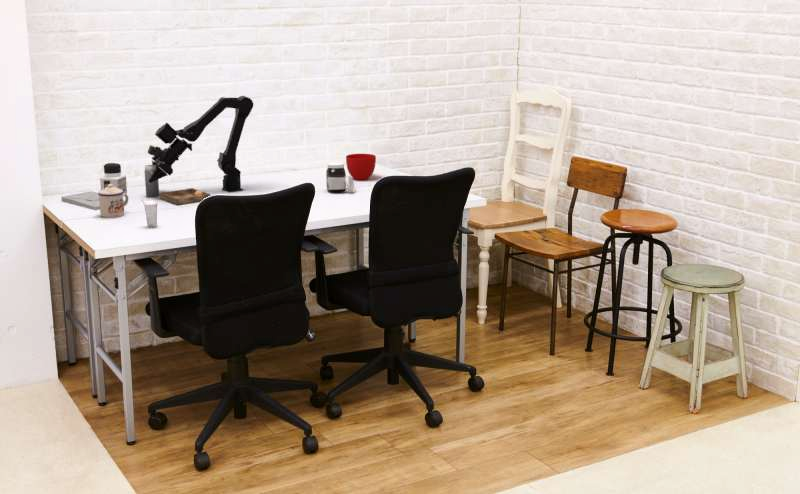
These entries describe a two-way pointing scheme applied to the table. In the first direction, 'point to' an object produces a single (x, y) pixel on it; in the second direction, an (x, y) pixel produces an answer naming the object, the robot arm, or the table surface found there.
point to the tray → (182, 196)
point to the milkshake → (151, 213)
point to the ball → (198, 193)
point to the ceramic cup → (360, 165)
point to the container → (113, 177)
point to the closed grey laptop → (84, 200)
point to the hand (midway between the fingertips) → (148, 180)
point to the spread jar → (338, 179)
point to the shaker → (152, 187)
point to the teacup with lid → (112, 201)
